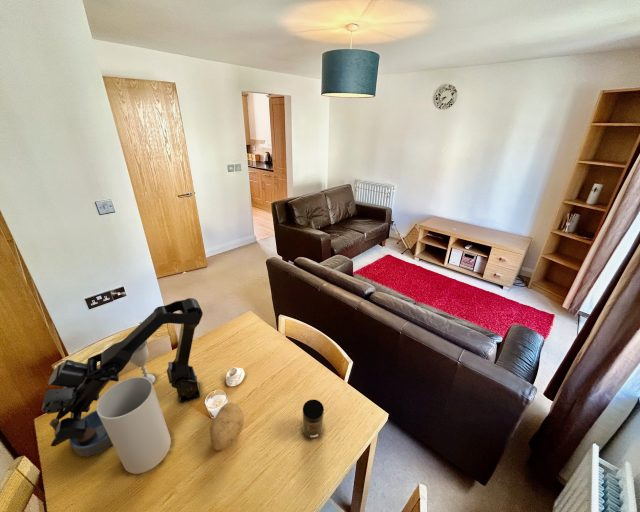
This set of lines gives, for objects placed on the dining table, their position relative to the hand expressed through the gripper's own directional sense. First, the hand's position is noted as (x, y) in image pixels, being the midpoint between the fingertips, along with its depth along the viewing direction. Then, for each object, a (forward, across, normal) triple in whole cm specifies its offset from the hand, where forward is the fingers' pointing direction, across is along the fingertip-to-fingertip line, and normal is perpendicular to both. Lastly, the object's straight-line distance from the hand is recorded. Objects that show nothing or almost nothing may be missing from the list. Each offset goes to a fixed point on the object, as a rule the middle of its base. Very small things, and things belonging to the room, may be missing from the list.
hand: (55, 431), depth 79 cm
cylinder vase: (-8, +14, +21) cm, 27 cm away
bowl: (0, 0, +12) cm, 12 cm away
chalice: (-10, -15, +22) cm, 29 cm away
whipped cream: (-30, +3, +42) cm, 52 cm away
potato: (-24, +23, +36) cm, 49 cm away
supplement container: (-41, +36, +53) cm, 76 cm away
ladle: (+3, 0, +8) cm, 8 cm away
